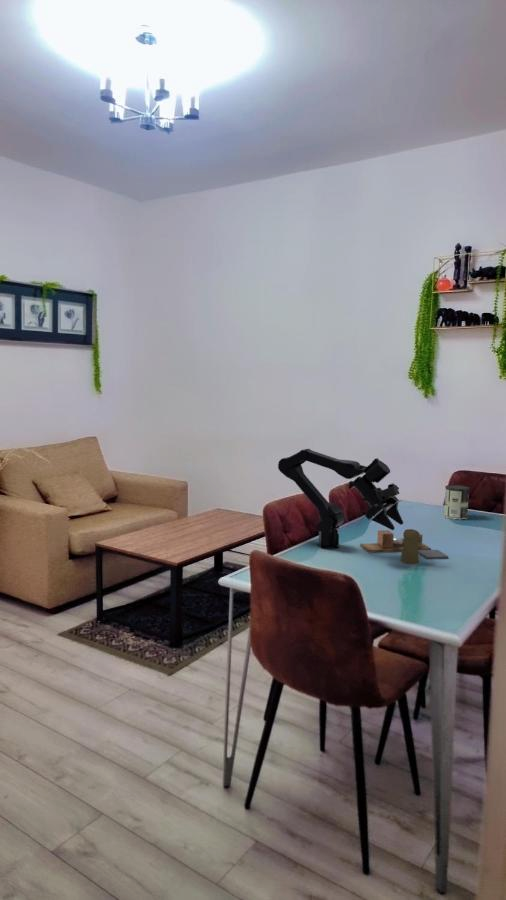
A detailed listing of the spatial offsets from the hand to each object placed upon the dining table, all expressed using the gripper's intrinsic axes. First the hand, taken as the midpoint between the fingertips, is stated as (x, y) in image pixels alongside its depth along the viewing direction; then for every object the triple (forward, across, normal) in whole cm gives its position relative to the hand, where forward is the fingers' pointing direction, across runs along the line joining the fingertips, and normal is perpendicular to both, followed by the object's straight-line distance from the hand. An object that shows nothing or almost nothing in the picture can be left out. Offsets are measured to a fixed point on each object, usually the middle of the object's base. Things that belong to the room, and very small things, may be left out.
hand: (398, 526), depth 202 cm
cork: (+12, 0, +5) cm, 13 cm away
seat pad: (+14, +12, +2) cm, 19 cm away
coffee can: (+9, +78, +7) cm, 79 cm away
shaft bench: (+5, +12, +11) cm, 17 cm away
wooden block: (+3, +11, +11) cm, 16 cm away
